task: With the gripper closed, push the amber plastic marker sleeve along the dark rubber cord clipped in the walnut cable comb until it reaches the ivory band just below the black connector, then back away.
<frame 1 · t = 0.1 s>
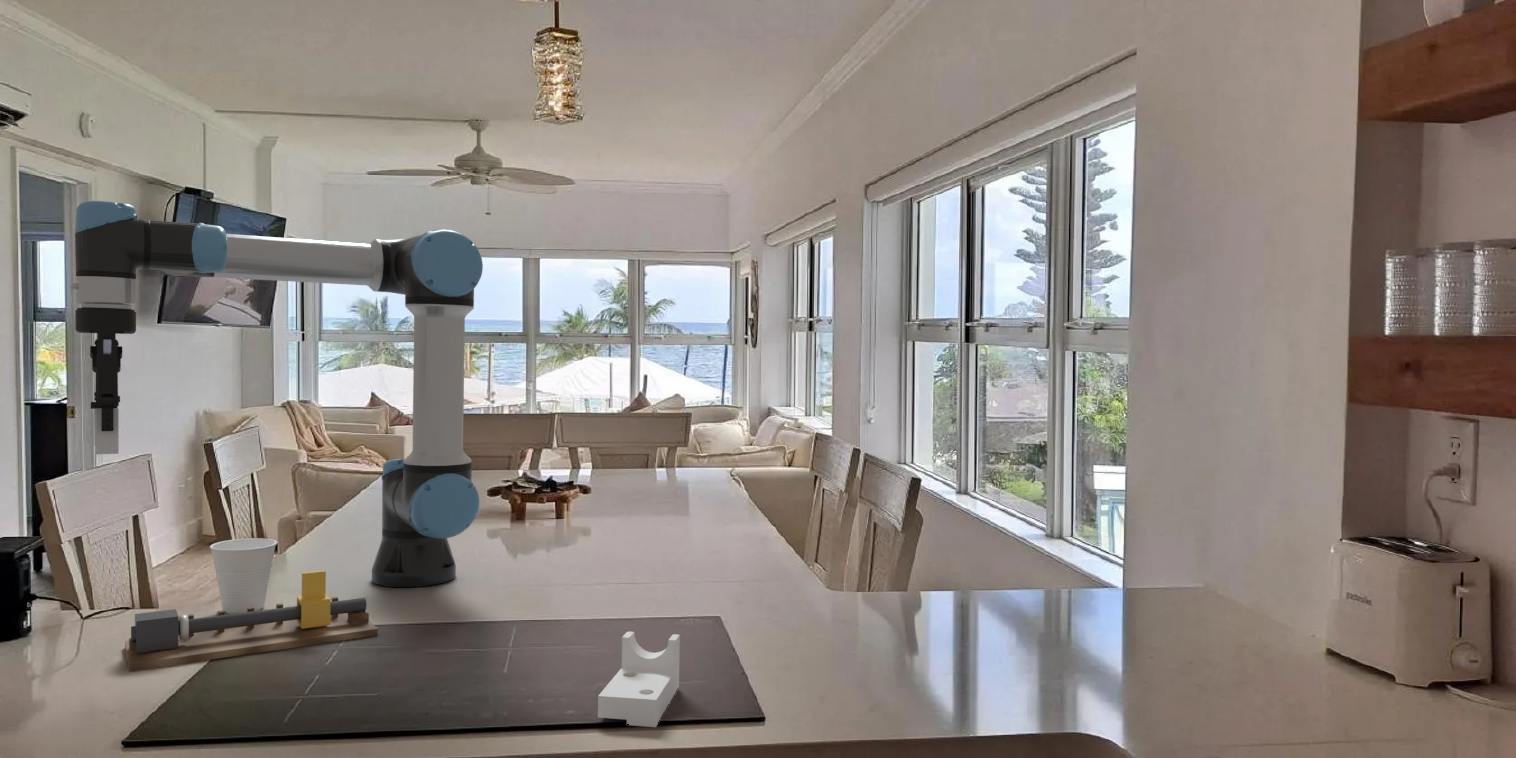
hand: (106, 449, 145), 28 cm above the kitchen counter, fingers open, 13 cm apart
bracket: (640, 709, 122), on the kitchen counter
comb board: (255, 641, 145), on the kitchen counter
sleeve: (313, 597, 149), point 5 cm above the kitchen counter, slide at 0.0 cm
cord: (255, 618, 144), point 4 cm above the kitchen counter
cup: (243, 610, 161), on the kitchen counter
connector: (161, 629, 138), point 4 cm above the kitchen counter
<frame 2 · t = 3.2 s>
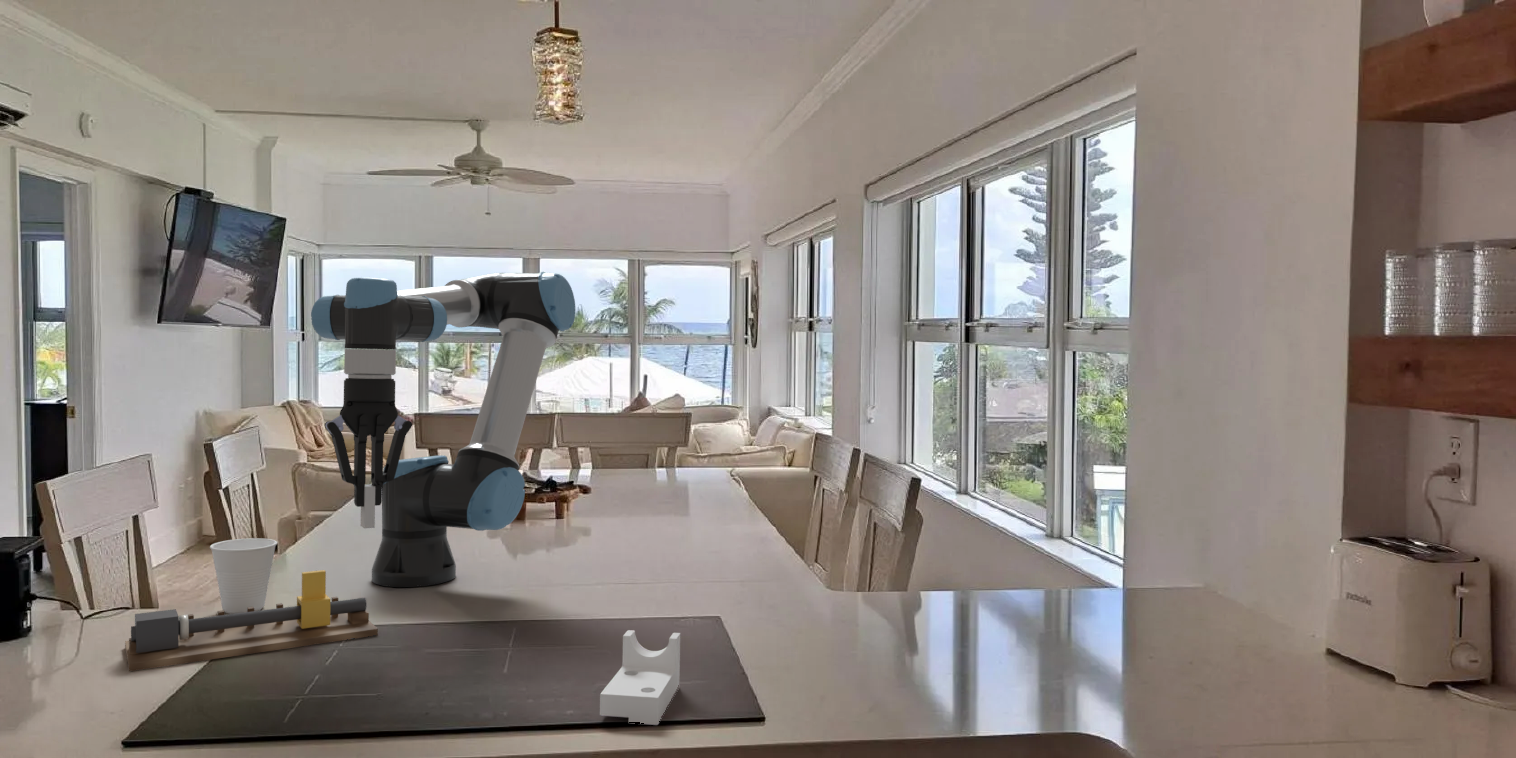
hand: (367, 526, 153), 16 cm above the kitchen counter, fingers closed
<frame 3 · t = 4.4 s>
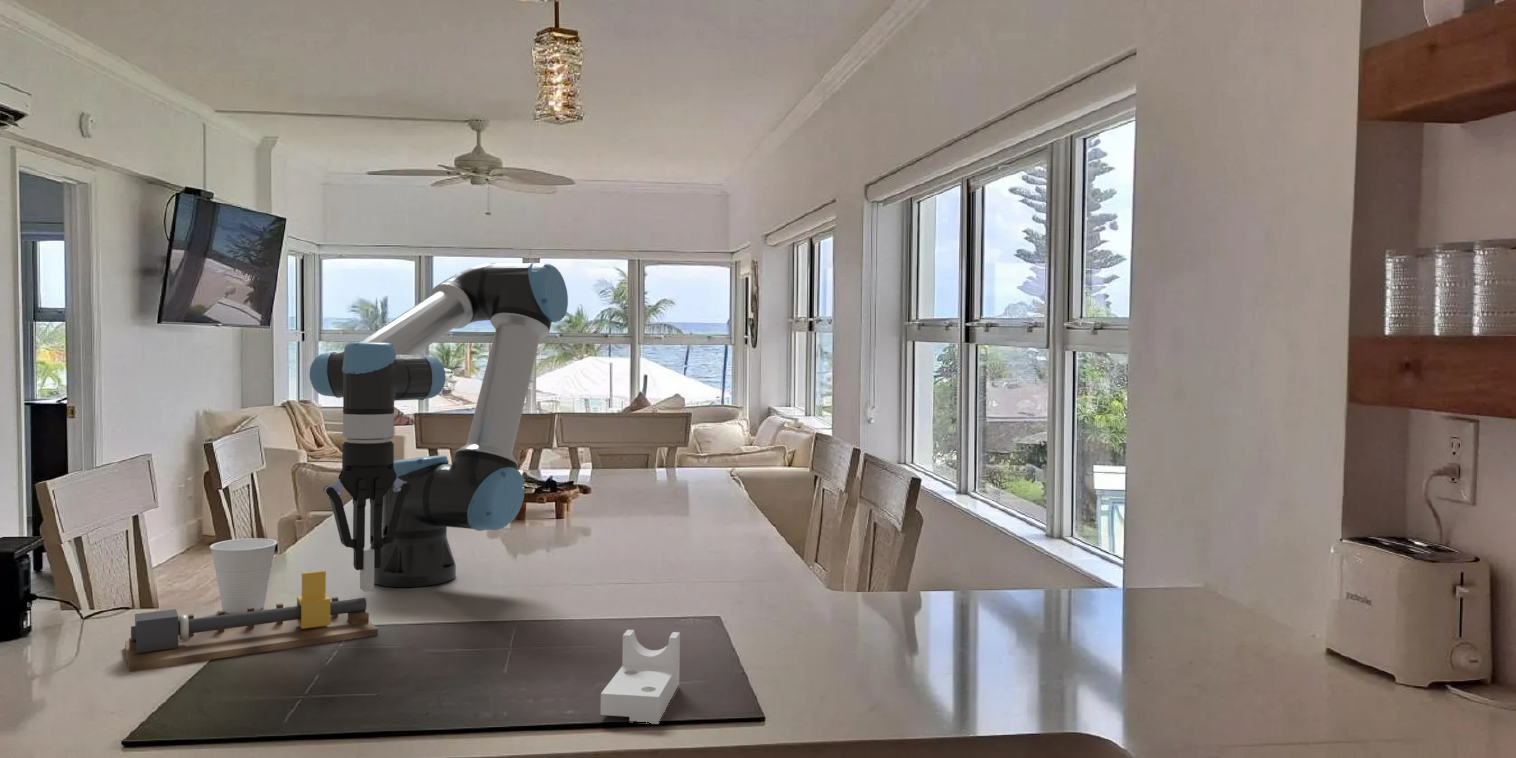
hand: (366, 589, 153), 6 cm above the kitchen counter, fingers closed
nothing on the kitchen counter moved.
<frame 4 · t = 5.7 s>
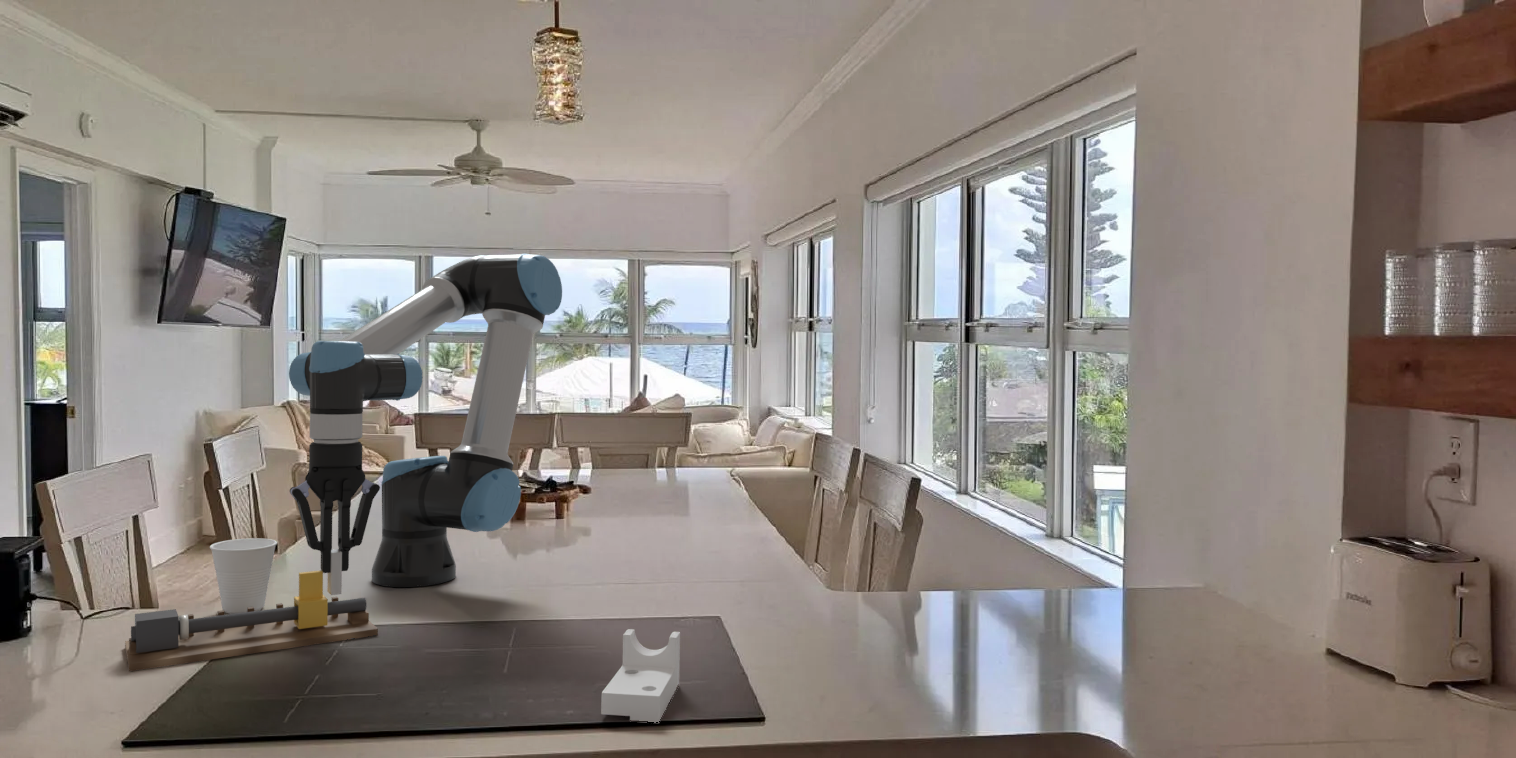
hand: (334, 592, 151), 6 cm above the kitchen counter, fingers closed
sleeve: (310, 598, 149), point 5 cm above the kitchen counter, slide at 0.4 cm, touching gripper
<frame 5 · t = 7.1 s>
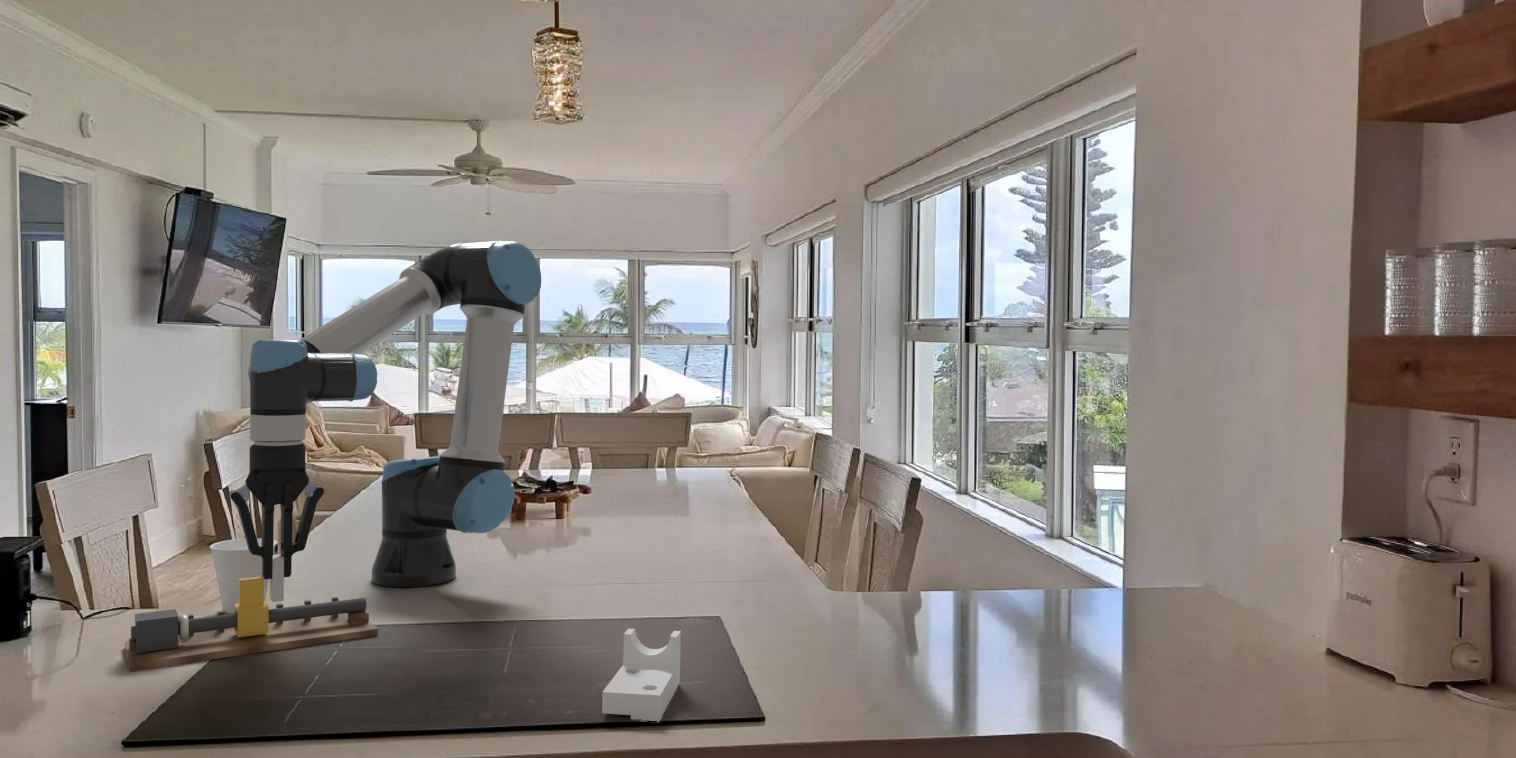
hand: (276, 599, 146), 6 cm above the kitchen counter, fingers closed
sleeve: (251, 605, 144), point 5 cm above the kitchen counter, slide at 8.5 cm, touching gripper
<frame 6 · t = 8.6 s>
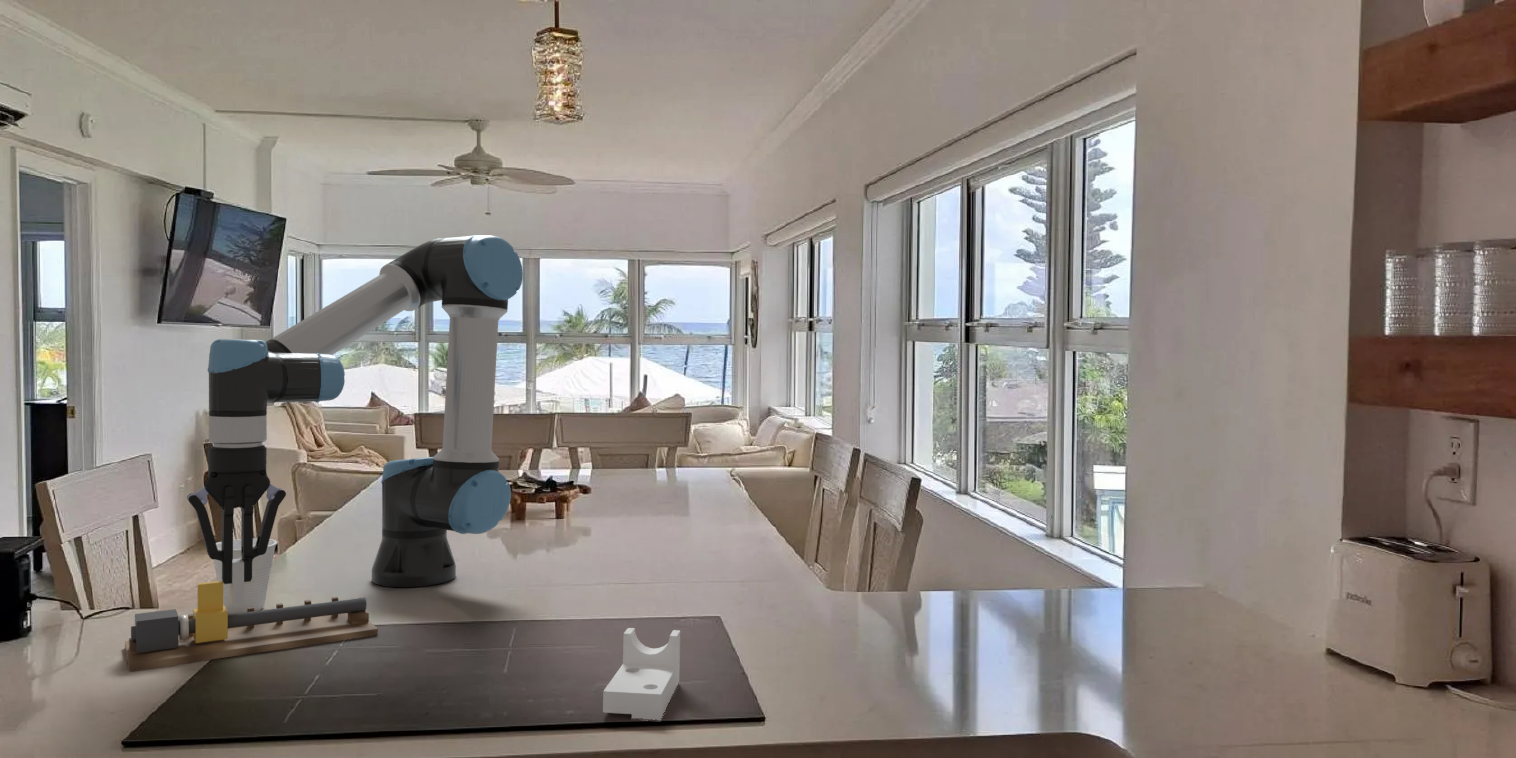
hand: (236, 604, 143), 6 cm above the kitchen counter, fingers closed
sleeve: (210, 610, 141), point 5 cm above the kitchen counter, slide at 13.9 cm, touching gripper
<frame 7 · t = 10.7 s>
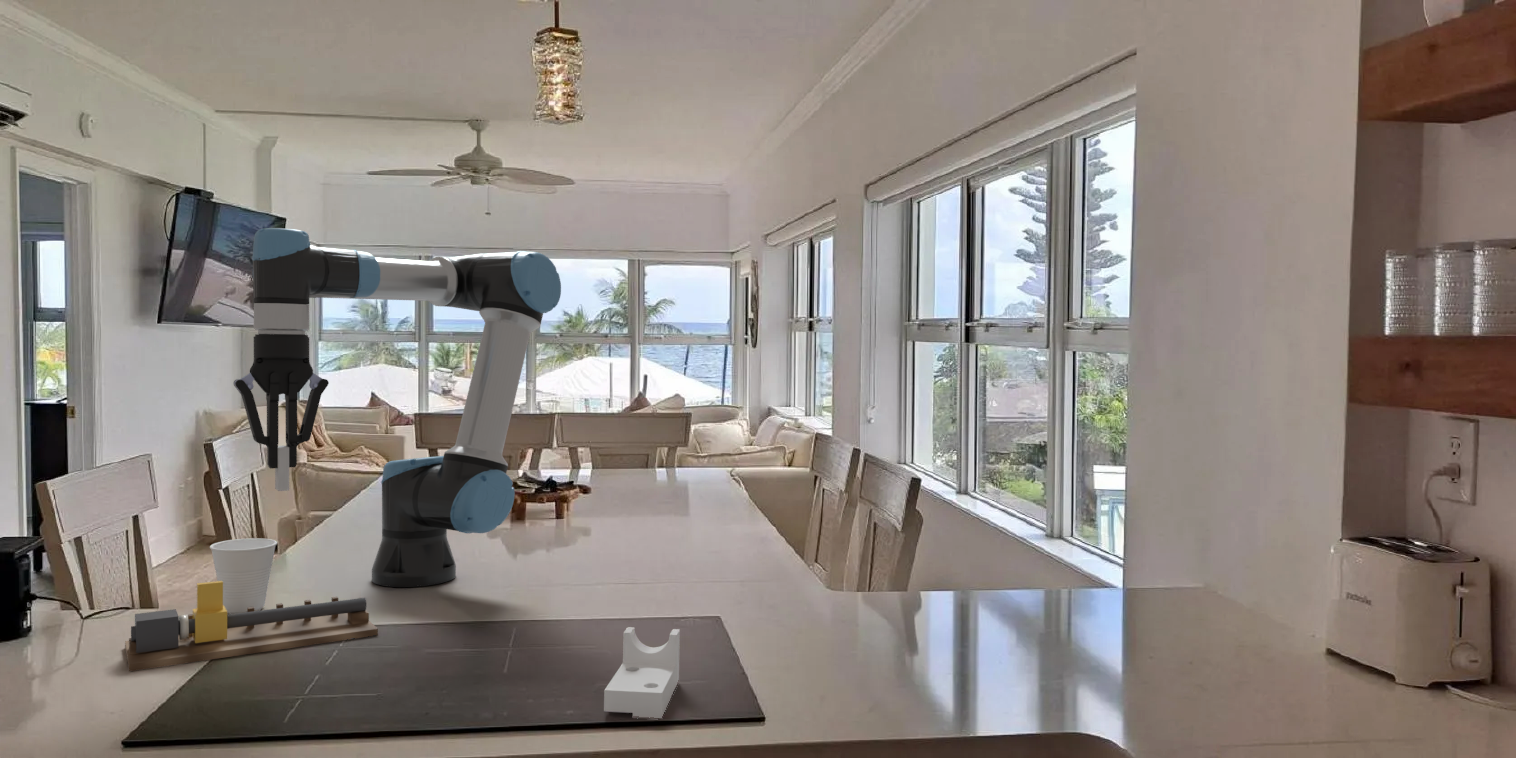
hand: (282, 489, 147), 22 cm above the kitchen counter, fingers closed
sleeve: (209, 610, 141), point 5 cm above the kitchen counter, slide at 13.9 cm
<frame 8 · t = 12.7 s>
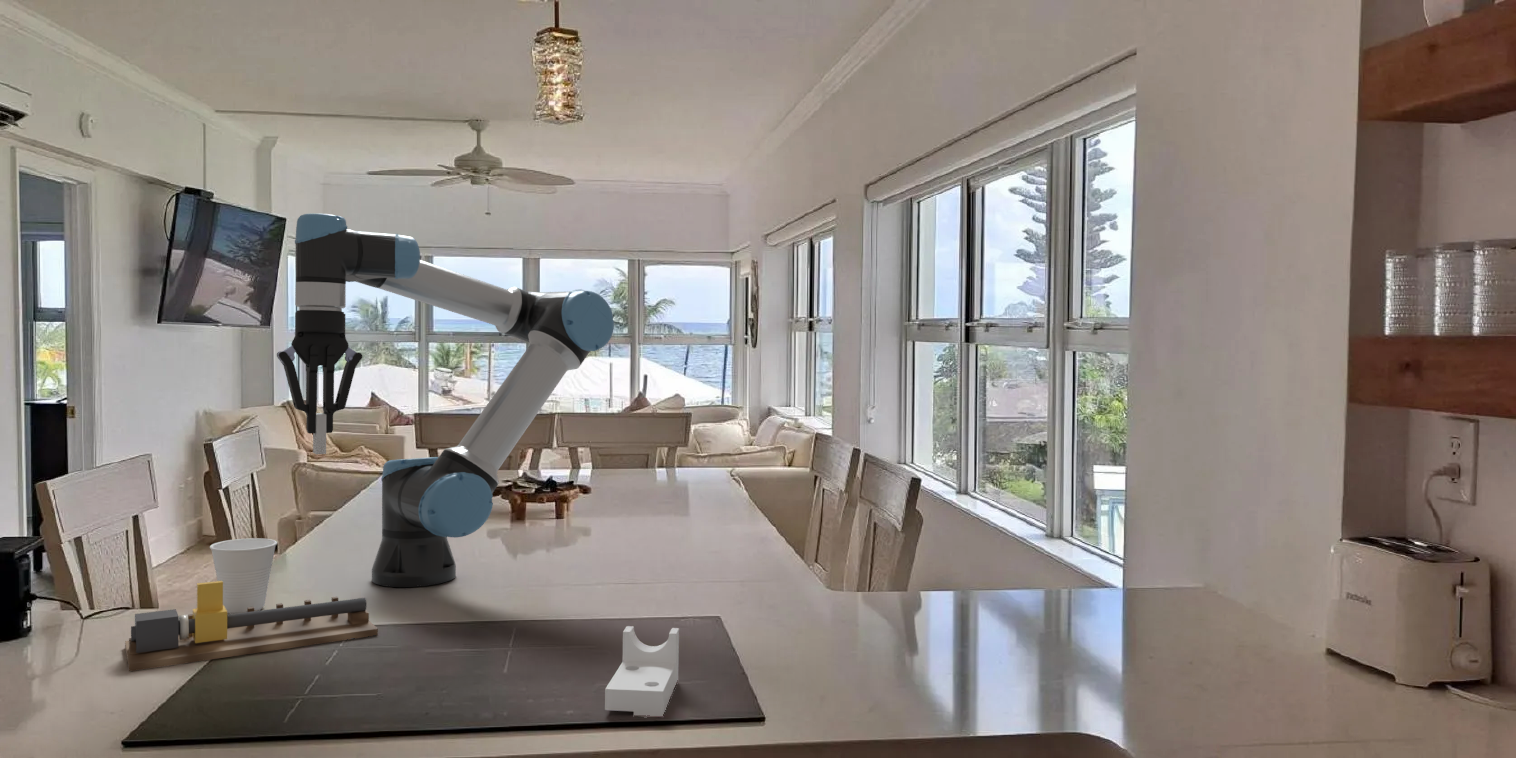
hand: (319, 453, 160), 26 cm above the kitchen counter, fingers closed
at the end: sleeve slide at 13.9 cm; the gripper is holding nothing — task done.
